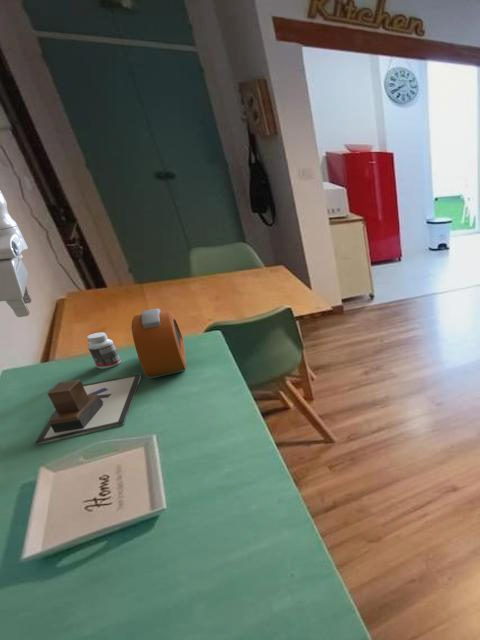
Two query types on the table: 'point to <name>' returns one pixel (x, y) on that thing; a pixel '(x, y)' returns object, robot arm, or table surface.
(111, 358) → the pill bottle
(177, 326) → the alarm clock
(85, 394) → the eraser
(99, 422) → the whiteboard
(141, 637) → the table surface
